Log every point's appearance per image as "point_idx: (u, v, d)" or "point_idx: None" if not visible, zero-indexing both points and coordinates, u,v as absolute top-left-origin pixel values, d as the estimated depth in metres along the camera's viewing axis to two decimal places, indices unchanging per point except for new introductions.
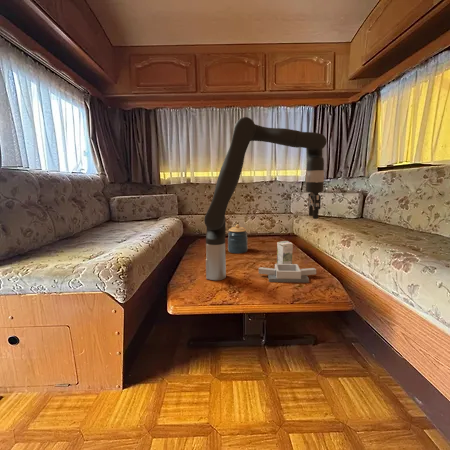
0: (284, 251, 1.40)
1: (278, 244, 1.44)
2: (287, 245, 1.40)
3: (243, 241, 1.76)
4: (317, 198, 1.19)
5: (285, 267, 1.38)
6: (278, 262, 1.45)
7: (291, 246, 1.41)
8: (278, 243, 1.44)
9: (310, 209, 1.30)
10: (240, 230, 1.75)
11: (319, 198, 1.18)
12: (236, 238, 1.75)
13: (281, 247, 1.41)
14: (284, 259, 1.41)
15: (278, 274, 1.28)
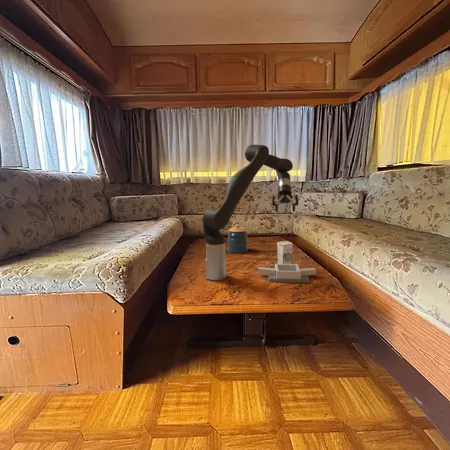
0: (284, 251, 1.40)
1: (278, 244, 1.44)
2: (287, 245, 1.40)
3: (243, 241, 1.76)
4: (297, 197, 1.55)
5: (285, 267, 1.38)
6: (278, 262, 1.45)
7: (291, 246, 1.41)
8: (278, 243, 1.44)
9: (277, 206, 1.54)
10: (240, 230, 1.75)
11: None
12: (236, 238, 1.75)
13: (281, 247, 1.41)
14: (284, 259, 1.41)
15: (278, 274, 1.28)
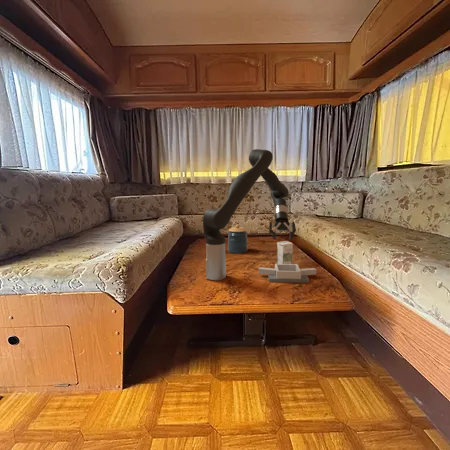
0: (284, 251, 1.40)
1: (278, 244, 1.44)
2: (287, 245, 1.40)
3: (243, 241, 1.76)
4: None
5: (285, 267, 1.38)
6: (278, 262, 1.45)
7: (291, 246, 1.41)
8: (278, 243, 1.44)
9: None
10: (240, 230, 1.75)
11: None
12: (236, 238, 1.75)
13: (281, 247, 1.41)
14: (284, 259, 1.41)
15: (278, 274, 1.28)
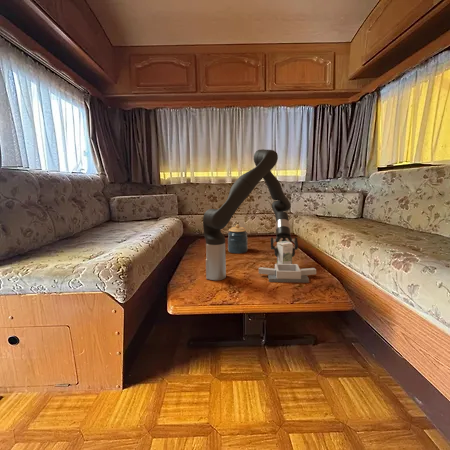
0: (284, 251, 1.40)
1: (278, 244, 1.44)
2: (287, 245, 1.40)
3: (243, 241, 1.76)
4: None
5: (285, 267, 1.38)
6: (278, 262, 1.45)
7: (291, 246, 1.41)
8: (278, 243, 1.44)
9: None
10: (240, 230, 1.75)
11: None
12: (236, 238, 1.75)
13: (281, 247, 1.41)
14: (283, 259, 1.41)
15: (278, 274, 1.28)
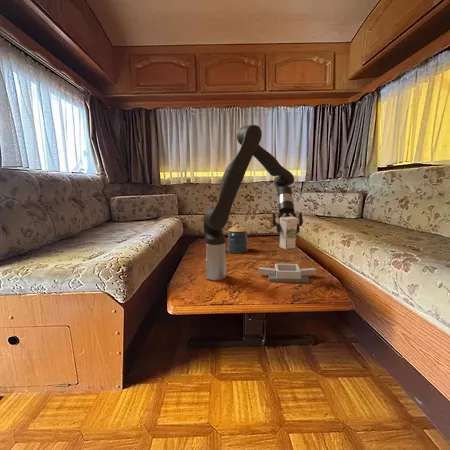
0: (287, 227, 1.26)
1: (281, 219, 1.30)
2: (291, 220, 1.26)
3: (243, 241, 1.76)
4: None
5: (285, 267, 1.38)
6: (281, 240, 1.31)
7: (295, 221, 1.27)
8: (281, 218, 1.30)
9: (279, 226, 1.30)
10: (240, 230, 1.75)
11: None
12: (236, 238, 1.75)
13: (284, 222, 1.27)
14: (287, 236, 1.27)
15: (278, 274, 1.28)
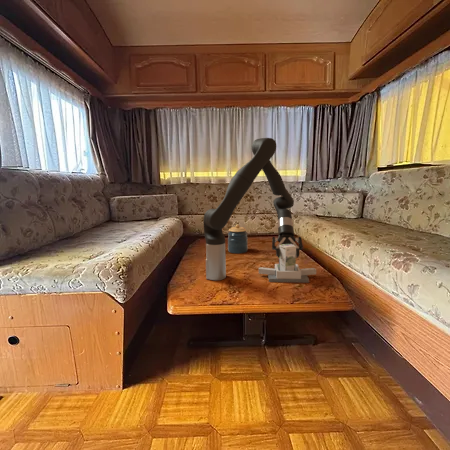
0: (287, 255, 1.29)
1: (280, 247, 1.32)
2: (290, 248, 1.29)
3: (243, 241, 1.76)
4: None
5: None
6: (280, 266, 1.33)
7: (294, 249, 1.30)
8: (280, 246, 1.32)
9: None
10: (240, 230, 1.75)
11: None
12: (236, 238, 1.75)
13: (283, 250, 1.29)
14: (286, 263, 1.29)
15: (278, 274, 1.28)
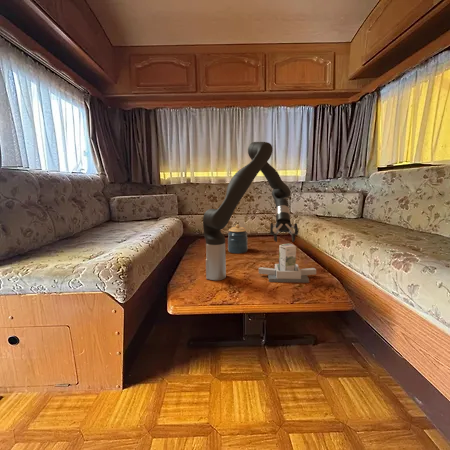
0: (287, 255, 1.29)
1: (280, 247, 1.32)
2: (290, 248, 1.29)
3: (243, 241, 1.76)
4: None
5: None
6: (280, 267, 1.33)
7: (294, 249, 1.30)
8: (280, 246, 1.32)
9: (276, 235, 1.45)
10: (240, 230, 1.75)
11: None
12: (236, 238, 1.75)
13: (283, 250, 1.29)
14: (286, 263, 1.29)
15: (278, 274, 1.28)
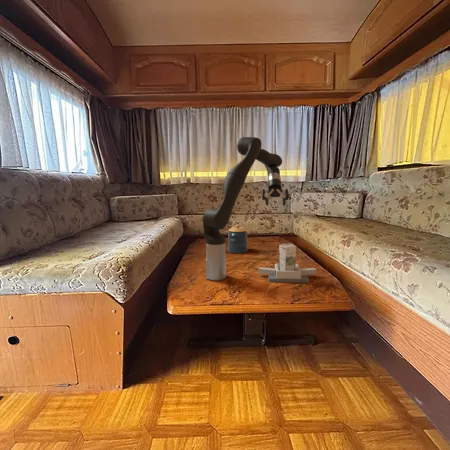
0: (287, 255, 1.29)
1: (280, 247, 1.32)
2: (290, 248, 1.29)
3: (243, 241, 1.76)
4: None
5: None
6: (280, 267, 1.33)
7: (294, 249, 1.30)
8: (280, 246, 1.32)
9: (268, 199, 1.51)
10: (240, 230, 1.75)
11: None
12: (236, 238, 1.75)
13: (283, 250, 1.29)
14: (286, 263, 1.29)
15: (278, 274, 1.28)
